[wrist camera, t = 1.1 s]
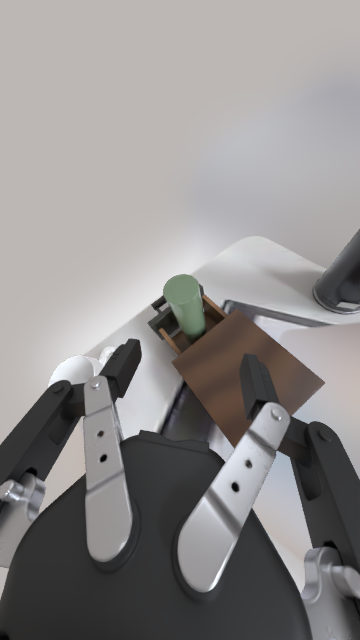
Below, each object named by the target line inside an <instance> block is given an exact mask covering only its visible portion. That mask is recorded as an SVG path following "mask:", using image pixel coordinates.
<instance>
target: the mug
mask: <svg viewBox="0 0 360 640" xmlns="http://www.w3.org/2000/svg"><path fill="white" fill-rule="evenodd" d="M116 348H118V347H117V346H108V347H106V348H104V349H103V351H102V352H101V354H100V357H99V359H95V358H91V357H88V356H85V355H76V356H72V357H70V358H68V359H66V360H65V361H63V362H62V363H61V364H60V365H59V366H58V367H57V368H56V370H55V371H54V373H53V374H52V376H51V379H50V381H49V385H48V388H49V387H50V386H51V385H52V384H53V383H55V382H57V381H60V380H68V381H70V382H71V384H72V385H73V384H80V383H86V382H87V381H88V380H89V379H90V378H92V377H94V376H98V375H99V373H100V372H101V370H102V369H103V367H104V366H105V364H106V358H107V356H108V355H109V354H110V353H112V352H114V351H115V350H116Z"/></svg>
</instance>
